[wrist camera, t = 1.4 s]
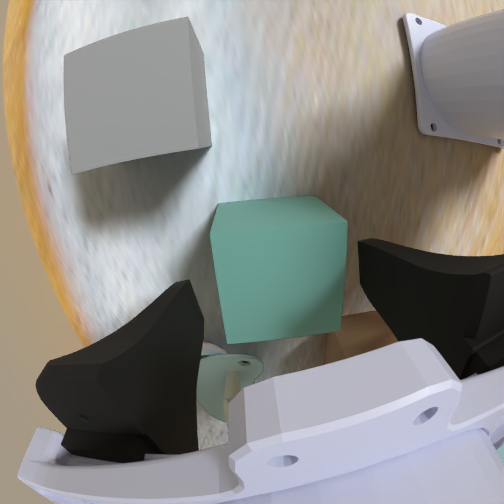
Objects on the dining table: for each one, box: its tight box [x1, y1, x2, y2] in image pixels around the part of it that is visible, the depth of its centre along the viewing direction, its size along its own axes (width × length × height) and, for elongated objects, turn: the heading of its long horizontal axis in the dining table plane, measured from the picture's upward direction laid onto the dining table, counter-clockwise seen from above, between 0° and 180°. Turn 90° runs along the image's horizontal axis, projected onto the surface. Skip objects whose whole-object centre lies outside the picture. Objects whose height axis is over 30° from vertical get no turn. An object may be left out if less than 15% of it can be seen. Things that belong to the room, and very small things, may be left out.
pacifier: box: [196, 342, 263, 429], centre depth 16 cm, size 7×6×6 cm
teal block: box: [210, 195, 348, 344], centre depth 13 cm, size 5×5×5 cm
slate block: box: [64, 17, 212, 174], centre depth 10 cm, size 5×5×5 cm
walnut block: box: [324, 310, 398, 365], centre depth 16 cm, size 5×5×5 cm
